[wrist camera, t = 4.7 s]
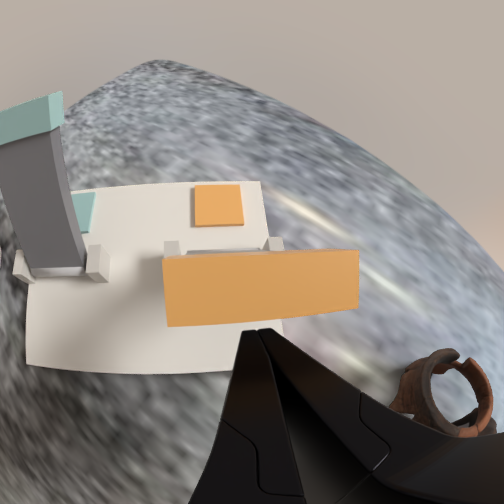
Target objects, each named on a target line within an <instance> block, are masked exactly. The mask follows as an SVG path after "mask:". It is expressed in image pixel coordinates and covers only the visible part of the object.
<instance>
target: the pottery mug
mask: <svg viewBox="0 0 504 504" xmlns="http://www.w3.org/2000/svg"><path fill="white" fill-rule="evenodd" d="M459 357H460V354H459V353H458V352H457V351H456V350H454V349H452V348H445V349H440V350H437V351H435V352H433V353H432V354H431V355H430V356H429V357H425V358H421V359H418V360H416V361H414V362H413V363H412V364H410V365H409V366H408V367H407V368H406V369H405V374H403V375H402V377H401V380H400V386H399V390H398V393H397V396H396V397H395V399H394V401H393V402H392V403H391V405H390V406H389V408H390V409H392V410H394V411H396V412H399V413H407V414H414V417H413V419H412V420H414V421H416V422H418V423H421V424H423V425H425V426H427V427H430V428H432V429H434V430H437V431H439V432H441V433H444V434H447V435H450V436H454V437H466V438H467V437H477V436H484V435H491V434H496V433H497V430H496V426H497V424H496V422H495V420H494V419H493V418H492V417H491V414H492V410H493V395H492V389H491V386H490V383H489V380H488V378H487V376H486V374H485V373H484V372H483V370H482V368H481V367H480V366H479V365H478V364H477V362H476V361H475V360H473V359H472V358H470V357H469V358H468V359H467V360H466V361H465V362H464V363H462V364H461V363H459V362H458V361H456V360H457V359H458V358H459ZM452 368H455V369H456V370H458V371H459V372H460V373H461V374H462V375H464V376H465V378H466V379H467V380H468V381H469V382H470V384H471V386H472V388H473V390H474V392H475V395H476V399H477V402H478V403H479V405H478V408H475V409H474V410H473V411H472V412H471V413H469V414H468V415H466V416H465V417H463V418H462V419H459V420H457V421H455V422H453V423H450V422H448V421H447V420H446V419H445V418H444V417H443V415H442V414H441V413H440V411H439V410H438V408H437V407H436V405H435V402H434V400H433V397H432V393H431V384H430V379H431V373H433V374H444V373H445V372H446V371H447V370H448V369H452Z"/></svg>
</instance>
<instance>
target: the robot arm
mask: <svg viewBox="0 0 504 504" xmlns="http://www.w3.org/2000/svg"><path fill="white" fill-rule="evenodd" d="M360 392H361V391H360V390H359V389H358V388H356V387H355V386H353V385H352V384H350V383H349V382H347V381H346V380H344V379H343V378H341V377H340V376H338V375H337V374H335V373H334V372H332V371H331V370H329V369H328V368H327V367H325V366H324V365H322V364H321V363H319V362H318V361H317V360H315V359H314V358H312V357H311V356H309V355H308V354H307V353H305V352H304V351H302V350H301V349H300V348H298V347H297V346H295V345H294V344H293V343H291V342H290V341H289V340H287V339H286V338H284V337H283V336H282V335H280V334H279V333H278V332H276V331H275V330H274V329H272V328H262V329H258V330H257V331H256V330H255V329H252V330H243V331H242V332H241V335H240V340H239V344H238V348H237V352H236V356H235V361H234V365H233V369H232V373H231V377H230V381H229V385H228V390H227V394H226V398H225V402H224V406H223V410H222V414H221V418H220V422H219V425H218V430H217V434H216V437H215V440H214V444H213V447H212V451H211V453H210V456H209V458H208V461H207V463H206V466H205V468H204V471H203V473H202V475H201V477H200V480H199V482H198V484H197V486H196V488H195V490H194V492H193V495H192V497H191V499H190V501H189V503H188V504H504V432H502V433H496V434H491V435H484V436H477V437H467V438H466V437H454V436H450V435H447V434H444V433H441V432H439V431H437V430H434V429H432V428H430V427H427V426H425V425H423V424H421V423H418V422H416V421H414V420H412V419H410V418H408V417H406V416H404V415H402V414H400V413H398V412H396V411H394V410H392V409H390V408H388V407H386V406H385V405H383V404H381V403H380V402H378V401H376V400H375V399H373V398H372V397H370V396H368V395H367V394H365V393H364V392H361V393H360Z"/></svg>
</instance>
